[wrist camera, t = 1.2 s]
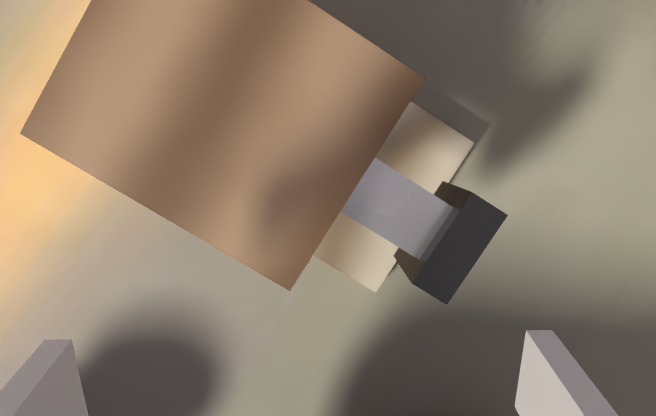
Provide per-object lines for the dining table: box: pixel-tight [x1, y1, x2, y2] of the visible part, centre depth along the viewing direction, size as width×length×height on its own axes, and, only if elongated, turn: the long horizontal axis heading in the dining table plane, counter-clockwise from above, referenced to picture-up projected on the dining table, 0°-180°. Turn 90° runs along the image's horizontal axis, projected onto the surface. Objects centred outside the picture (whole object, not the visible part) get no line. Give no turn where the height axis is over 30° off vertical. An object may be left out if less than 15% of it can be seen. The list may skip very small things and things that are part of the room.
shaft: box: [340, 158, 508, 304], centre depth 25 cm, size 16×5×5 cm, turn 58°
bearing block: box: [20, 0, 474, 292], centre depth 27 cm, size 20×12×14 cm, turn 58°
